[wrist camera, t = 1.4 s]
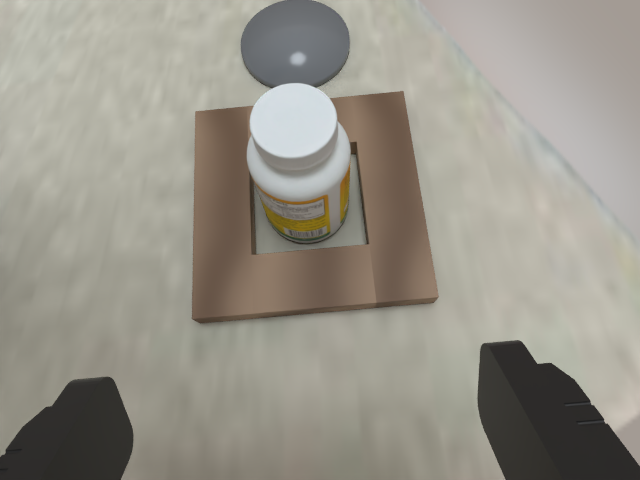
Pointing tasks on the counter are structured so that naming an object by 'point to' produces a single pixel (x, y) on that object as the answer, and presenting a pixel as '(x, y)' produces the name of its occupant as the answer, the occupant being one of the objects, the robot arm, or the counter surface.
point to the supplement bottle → (300, 162)
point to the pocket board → (316, 264)
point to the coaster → (295, 43)
